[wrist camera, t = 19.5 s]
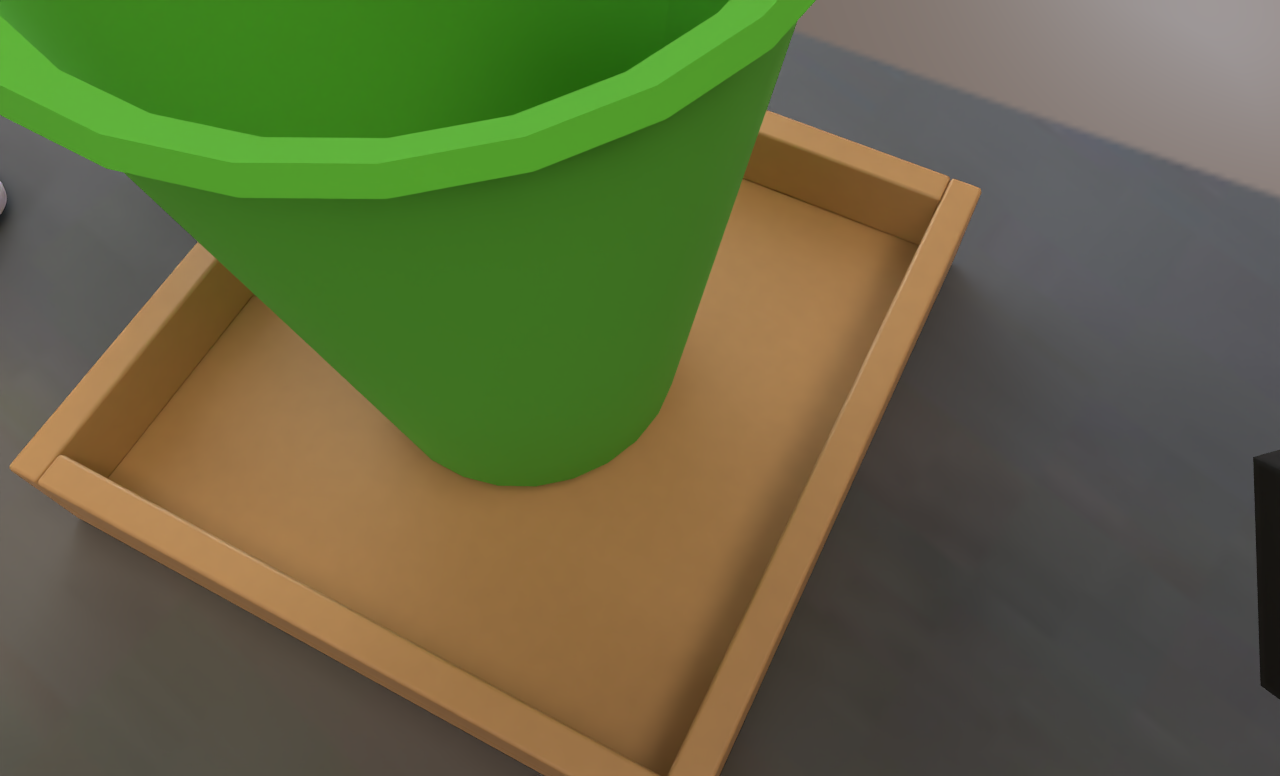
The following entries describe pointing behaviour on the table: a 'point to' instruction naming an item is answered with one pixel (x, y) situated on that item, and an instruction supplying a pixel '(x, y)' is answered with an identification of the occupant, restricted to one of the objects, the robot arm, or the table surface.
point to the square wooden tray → (535, 515)
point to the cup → (436, 186)
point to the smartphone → (2, 198)
